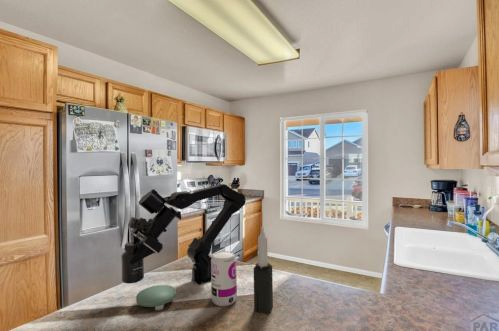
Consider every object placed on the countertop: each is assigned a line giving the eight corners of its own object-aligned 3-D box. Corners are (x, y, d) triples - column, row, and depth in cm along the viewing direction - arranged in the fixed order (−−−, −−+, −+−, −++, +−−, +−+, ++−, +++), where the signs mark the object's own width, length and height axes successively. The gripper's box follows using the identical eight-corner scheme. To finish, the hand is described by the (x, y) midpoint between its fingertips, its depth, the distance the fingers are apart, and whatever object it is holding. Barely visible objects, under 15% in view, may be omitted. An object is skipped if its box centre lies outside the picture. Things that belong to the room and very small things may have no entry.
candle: (273, 305, 83) (272, 225, 83) (269, 314, 78) (268, 229, 78) (258, 303, 84) (256, 224, 84) (253, 311, 80) (251, 228, 80)
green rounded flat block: (170, 290, 94) (169, 282, 94) (180, 305, 84) (180, 295, 84) (133, 299, 88) (133, 290, 88) (139, 317, 77) (139, 307, 77)
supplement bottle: (138, 284, 84) (137, 246, 84) (117, 284, 85) (116, 247, 84) (147, 274, 91) (146, 240, 91) (128, 275, 91) (127, 240, 91)
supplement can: (241, 297, 88) (240, 252, 88) (228, 309, 81) (228, 260, 81) (220, 292, 92) (219, 249, 92) (206, 304, 84) (206, 257, 84)
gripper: (136, 204, 97) (104, 240, 91) (151, 211, 82) (113, 254, 76) (159, 222, 102) (129, 257, 96) (176, 232, 87) (142, 274, 81)
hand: (128, 260), depth 87 cm, fingers closed on supplement bottle, 7 cm apart
